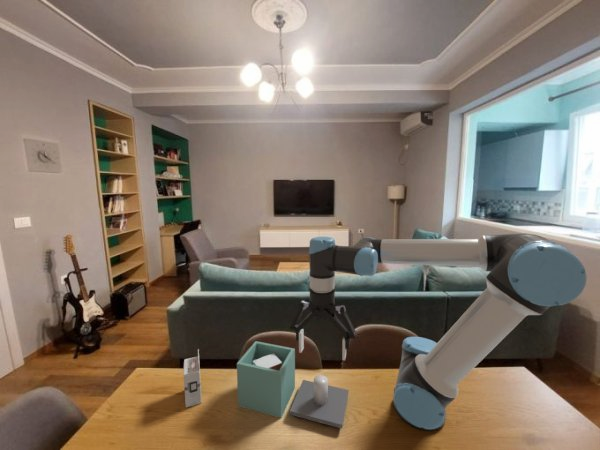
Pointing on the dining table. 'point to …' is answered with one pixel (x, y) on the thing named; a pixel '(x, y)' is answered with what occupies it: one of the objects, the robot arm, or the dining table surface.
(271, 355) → the small box
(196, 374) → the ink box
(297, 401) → the lid
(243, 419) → the dining table surface
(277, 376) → the box
